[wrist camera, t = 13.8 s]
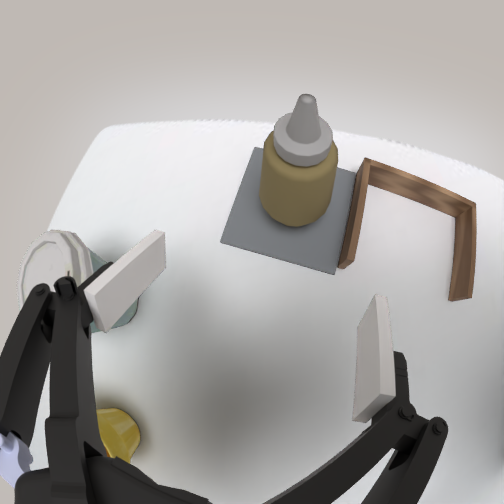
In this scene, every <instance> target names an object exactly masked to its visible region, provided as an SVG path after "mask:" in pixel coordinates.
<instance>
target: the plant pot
mask: <svg viewBox="0 0 504 504" xmlns="http://www.w3.org/2000/svg"><path fill="white" fill-rule="evenodd" d="M96 412H97V419H98V425H99V432H100V437H101V440H102V442H103V444H104V446H105V449H106V453H107V457H112V458H115V457H116V456H117V457H119V458H121V459H122V460H124V461H126V462H128V463H129V464H130V459H131V457H132V455H133V454H134V452H135V450H136V448H137V447H138V445H139V443H140V431H139V428H138V426H137V424H136V423H135V421H134V420H133V419H132V418H131V417H130V416H129V415H128V414H127V413H125V412H124V411H122V410H119V409H116V408H109V409H96Z"/></svg>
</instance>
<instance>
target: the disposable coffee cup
mask: <svg viewBox="0 0 504 504" xmlns="http://www.w3.org/2000/svg"><path fill="white" fill-rule="evenodd" d="M104 264H107V263H106V262H105V261H104V260H102V259H101V258H100V257H98V256H97V255H96V254H95V253H93V252H92V251H91V250H90V249H89V248H87V247H86V246H85V244H84V243H83V242H82V241H81V239H80V238H79V237H78V236H77V235H76V233H71V232H69V231H60V230H50V231H49V232H44V233H43V234H42V235H41V236H39V237H38V238H37V239H36V240H35V241H33V242H32V243H31V245H30V246H29V248H28V250H27V252H26V254H25V256H24V258H23V260H22V262H21V265H20V271H19V276H18V281H17V294H18V303H19V310H20V311H21V309H22V307H23V305H24V303H25V301H26V299H27V297H28V295H29V293H30V292H31V290H32V288H33V287H34V286H36V285H37V284H40V283H45V284H48V285H49V287H50V290H51V291H52V292H56V291H55V289H54V286H53V285H54V283H55V282H56V281H57V280H58V279H59V278H61V277H64V276H71V277H73V278H74V279H75V281H76V284H77V287H78V286H79V285H81V284H82V283H83V282H84V281H85V280H86V279H87V278H89V277H90V276H91V275H92V274H93V273H94V272H95V271H97V270H98V269H99V268H100V267H101V266H103V265H104ZM137 303H138V298H137V299H136V300H135V302H134V303H133V304H132V305H131V306H130V307H129V308H128V309H127V310H126V312H125V313H124V314H123V315H122V316H121V317H120V318H119V319H118V320H117V322H116V323H115V324H114V325H113V326H112V327H111V328H110V329H112V328H116V327H119V326H122V325H124V324H127V323H128V322H129V321H130V320H131V318H132V317H133V316H134V314H135V313H136V309H137ZM90 326H91V333H94V332H99V331H101V330H99V329H98V328H96V326H95V323H94V320H93V322H92V323H91V324H90Z"/></svg>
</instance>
